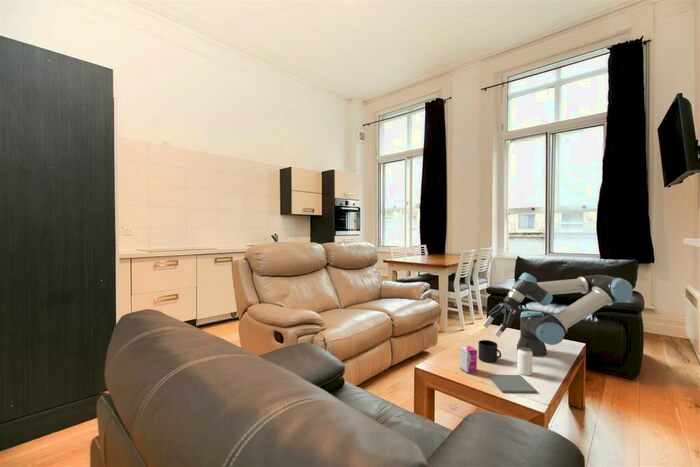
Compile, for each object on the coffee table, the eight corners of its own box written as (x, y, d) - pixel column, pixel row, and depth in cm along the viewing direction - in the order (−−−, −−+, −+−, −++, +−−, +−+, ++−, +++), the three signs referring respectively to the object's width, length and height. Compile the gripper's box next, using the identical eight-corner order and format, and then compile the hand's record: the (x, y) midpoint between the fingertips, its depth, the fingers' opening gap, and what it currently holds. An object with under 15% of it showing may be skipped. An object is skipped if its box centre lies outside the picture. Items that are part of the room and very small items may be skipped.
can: (527, 369, 164) (527, 346, 164) (535, 375, 158) (535, 351, 157) (514, 370, 164) (515, 346, 164) (522, 376, 158) (522, 351, 157)
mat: (520, 377, 156) (520, 375, 156) (537, 393, 141) (537, 390, 141) (488, 376, 157) (488, 374, 157) (502, 392, 142) (502, 390, 142)
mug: (496, 366, 169) (496, 349, 168) (475, 358, 178) (475, 342, 178) (505, 361, 175) (505, 344, 174) (483, 354, 184) (484, 338, 184)
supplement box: (466, 373, 160) (467, 350, 160) (459, 368, 166) (460, 346, 165) (477, 372, 161) (477, 349, 161) (469, 367, 167) (469, 345, 167)
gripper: (496, 289, 187) (475, 319, 187) (521, 301, 162) (496, 335, 162) (507, 296, 187) (485, 326, 188) (533, 309, 162) (508, 344, 163)
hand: (490, 331), depth 175 cm, fingers open, 13 cm apart
